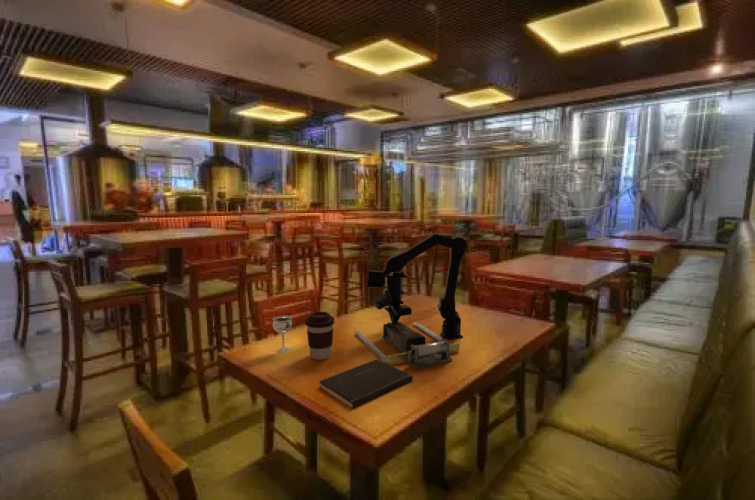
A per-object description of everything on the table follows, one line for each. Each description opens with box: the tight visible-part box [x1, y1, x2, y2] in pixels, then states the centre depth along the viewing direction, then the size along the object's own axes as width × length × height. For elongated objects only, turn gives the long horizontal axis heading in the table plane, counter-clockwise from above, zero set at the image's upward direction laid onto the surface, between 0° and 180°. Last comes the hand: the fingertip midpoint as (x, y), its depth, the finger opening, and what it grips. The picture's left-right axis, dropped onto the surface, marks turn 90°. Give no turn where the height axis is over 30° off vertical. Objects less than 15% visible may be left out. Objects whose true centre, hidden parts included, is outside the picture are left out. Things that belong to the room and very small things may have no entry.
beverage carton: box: [382, 321, 427, 353], centre depth 146 cm, size 8×19×7 cm, turn 25°
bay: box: [354, 321, 460, 366], centre depth 149 cm, size 28×31×3 cm
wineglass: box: [272, 314, 293, 354], centre depth 141 cm, size 7×7×12 cm
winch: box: [405, 338, 453, 370], centre depth 131 cm, size 16×5×6 cm, turn 114°
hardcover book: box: [318, 358, 413, 410], centre depth 117 cm, size 16×23×2 cm
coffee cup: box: [304, 311, 335, 361], centre depth 136 cm, size 10×10×15 cm
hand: (394, 326), depth 156 cm, fingers closed
